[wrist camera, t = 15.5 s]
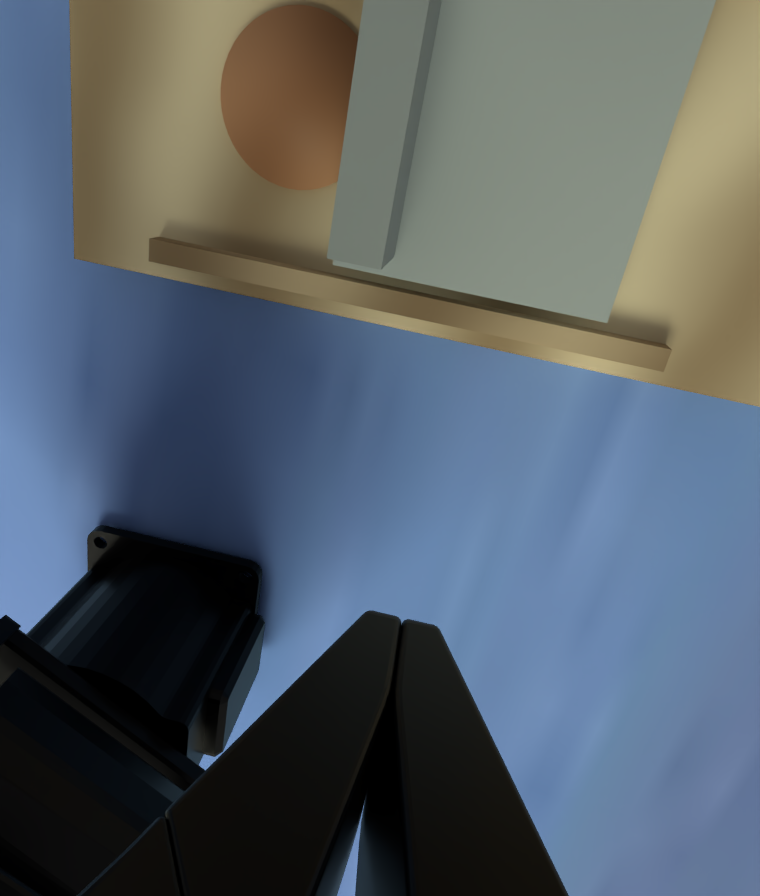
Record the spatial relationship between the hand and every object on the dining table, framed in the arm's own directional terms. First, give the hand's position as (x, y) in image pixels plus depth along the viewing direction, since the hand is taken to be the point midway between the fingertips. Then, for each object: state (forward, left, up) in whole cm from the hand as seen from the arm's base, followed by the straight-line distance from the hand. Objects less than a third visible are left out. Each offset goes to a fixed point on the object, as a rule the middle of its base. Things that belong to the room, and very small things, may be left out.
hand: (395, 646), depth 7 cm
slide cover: (0, +6, -11) cm, 13 cm away
